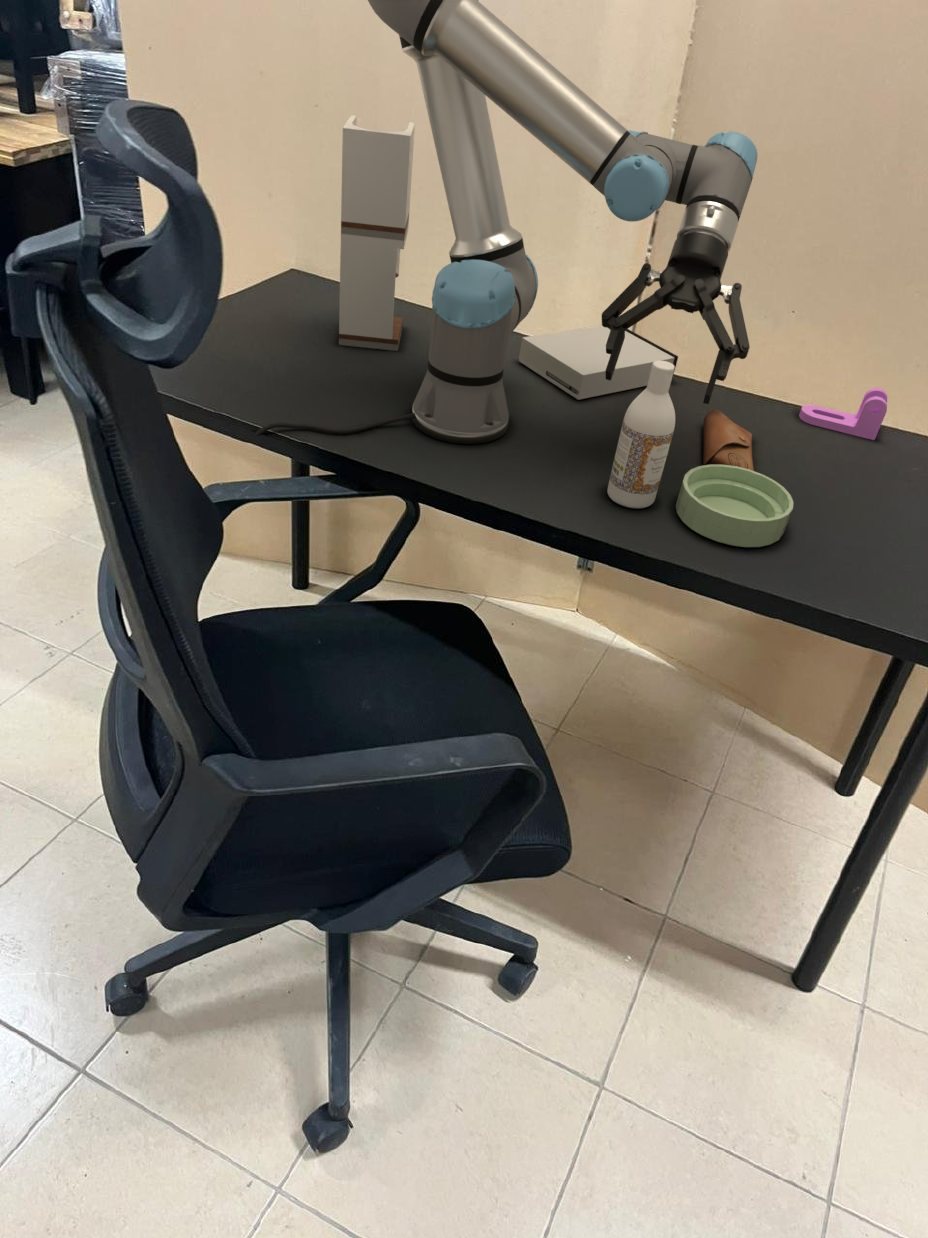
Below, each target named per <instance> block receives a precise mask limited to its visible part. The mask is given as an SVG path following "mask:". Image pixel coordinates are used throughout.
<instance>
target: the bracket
mask: <svg viewBox="0 0 928 1238" xmlns="http://www.w3.org/2000/svg"><path fill="white" fill-rule="evenodd" d="M887 411H888V394H887V392H886V390H884V389H883V388H881V387H872V388H869V389H868V390H867V391H866V392H865V394H864V396H863V398H862V400H861V403H860V405H859V408H858V410H857V413H855V414H854V413H849V412H844V411H841V410H837V409H833V408H828V407H825V406H820V405H816V404H805V405H802V406H801V408H800V411H799V415H798V417H799V419H800V420H801V421H802V422H805V423H807V424H809V425H812V426H816V427H820V428H822V429H823V428H824V429H828V430H831V431H835V432H839V433H843V434H847V435H851V436H855V437H859V438H863V439H868V440H871V441H875V440H876V438H877V435H878V433H879V430H880V428H881V426H882V424H883V421H884V419H885V417H886V414H887Z"/></svg>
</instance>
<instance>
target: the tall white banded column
mask: <svg viewBox="0 0 928 1238" xmlns="http://www.w3.org/2000/svg"><path fill="white" fill-rule="evenodd" d="M357 117H358V116H357V115H353V114H351V115H350V116H349V117H348V119H347V121H346V122H345V124H344V125H343V127H342V147H341V149H342V150H341V197H340V198H341V206H340V207H341V208H340V213H341V214H340V262H339V267H340V268H339V310H338V311H339V313H338V314H339V316H338V317H339V318H338V319H339V320H338V345H339V346H348V347H356V348H366V349H374V350H376V349H377V350H385V351H394V352H398V351H399V346H400V341H401V337H402V331H403V323H404V322H403V321H404V320H403V319H404V317H400V316H394V312H395V295H396V278H398V277H399V276H400V262H401V250H404V249H405V245H406V241H407V237H408V234H409V226H410V225H409V223H410V209H411V208H410V207H411V193H412V192H411V190H412V176H413V175H412V174H413V161H414V160H413V159H414V158H413V157H414V144H415V143H414V142H415V129H416V128H415V127H416V123H415V122H411V121H410V122H409V123H408V126H407V128H406V129H405V130H399V131H385V130H383V131H382V130H373V129H369V128H363V127H360V126H357Z"/></svg>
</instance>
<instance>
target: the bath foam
mask: <svg viewBox="0 0 928 1238" xmlns="http://www.w3.org/2000/svg"><path fill="white" fill-rule="evenodd" d="M674 369H675V370H676V367H674V365H673V364H672V363H670V362H667V361H655V362H653V364H652V368H651V372H650V376H649V380H648V384H647V386H646V388H645V389H644V390H642V391H641V392H640V393H639V395H637V396H636V397H635V398H634V399H633V400H632V402H631V403H630V404H629V406H628V408H627V409H626V411H625V414H624V417H623V420H622V423H621V429H620V433H619V436H618V441H617V446H616V449H615V454H614V458H613V463H612V467H611V471H610V476H609V481H608V485H607V489H606V490H607V491H606V493H607V495H608V497H609V498H610V500H611V501H613V502H614V503H616V504H617V505H620V506H622V507H626V508H629V509H644V508H647V507H650V506H652V505H653V504H654V503H655V501H656V497H657V494H658V491H659V487H660V483H661V479H662V476H663V473H664V468H665V465H666V461H667V457H668V454H669V450H670V446H671V443H672V439H673V435H674V432H675V427H676V411H675V407H674V403H673V400H672V398H671V396H670V393H669V391H670V389H671V385H672V384H671V383H672V382H671V380H672V381H673V379H672V377H673V378H674V375H673V373H674V374H675V371H674Z"/></svg>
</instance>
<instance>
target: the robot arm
mask: <svg viewBox="0 0 928 1238" xmlns="http://www.w3.org/2000/svg"><path fill="white" fill-rule="evenodd" d="M367 2H368V4H369V5H370V7H371V9H372V10H373V12H374V13H375V14H376V15H377V17H378V18H379V19H380V20H381V21H382V22H383V23H384V24H385V25H386V26H388V27H389V28H390V29H391V30H392V31H394V32H395V33H396V34H397V35H398V37H399V42H400V45H401V50H402V52H403V53H404V54H406V55H407V56H409V57H410V58H411V59H412V60H414V62H415V63H416V67H417V71H418V77H419V80H420V84H421V89H422V93H423V98H424V102H425V108H426V111H427V115H428V116H427V117H428V121H429V124H430V125H429V126H430V129H431V130H430V131H431V133H432V138H433V142H434V148H435V152H436V156H437V157H436V158H437V161H438V164H439V169H440V174H441V179H442V183H443V188H444V192H445V197H446V200H447V206H448V210H449V214H450V220H451V224H452V229H453V233H454V237H455V240H454V242H453V244H452V246H451V248H450V250H449V252H448V255H449V259H450V263H449V264H446V265H445V266H444V267H442V268H441V269H440V270H439V272H438V273H437V274H436V277H435V279H434V286H433V289H432V296H431V305H432V306H431V317H430V318H431V320H430V329H429V330H430V332H429V345H428V357H427V369H426V373H425V376H424V378H423V380H422V383H421V385H420V387H419V389H418V392H417V394H416V397H415V399H414V401H413V403H412V408H411V409H412V410H411V413H408V414H402V415H399V416H394V417H391V418H385V419H382V420H378V421H375V422H373V421H372V422H369V423H366V424H363V425H359V426H355V427H346V428H335V427H328V426H322V425H319V424H318V425H317V424H312V423H296V422H285V421H284V422H283V421H281V422H278V421H277V422H271V423H267V424H265V425H263V426H262V427H261V428H259V429H258V430H257V431H256V432H254V436H255V437H260V436H262V435H263V434H264V433H266V432H267V431H269V430H271V429H277V428H287V429H305V430H313V431H318V432H324V433H328V434H329V433H330V434H352V433H358V432H362V431H366V430H369V429H373V428H377V427H382V426H386V425H389V424H394V423H397V422H402V421H406V420H411V421H412V423H413V425H414V426H415V427H416V428H417V429H418V430H419V431H420V432H422V433H423V434H424V435H427V436H429V437H430V438H434V439H437V440H440V441H443V442H448V443H454V444H461V445H462V444H463V445H475V444H476V445H477V444H484V443H489V442H492V441H495V440H497V439H499V438H501V437H502V436H504V435H505V434H506V433H507V430H508V426H509V419H510V413H509V408H508V403H507V398H506V392H505V387H504V381H503V378H504V370H505V364H506V356H507V348H508V343H509V339H510V336H511V334H512V333H513V332H514V331H515V330H516V328H517V327H518V326H519V324H520V323H521V322H522V321H524V319H525V318H526V317H527V316H528V315H529V313H530V312H531V310H532V308H533V307H534V304H535V301H536V298H537V295H538V290H539V277H538V272H537V269H536V267H535V266H536V265H535V264H534V262H533V261H532V259H531V258H530V256H529V255H527V254H526V249H525V243H524V239H523V238H524V237H523V235H522V233H521V232H519V230H517V229H515V228H514V227H513V226H512V225H511V223H510V217H509V212H508V207H507V201H506V198H505V191H504V187H503V181H502V175H501V171H500V170H501V169H500V166H499V161H498V155H497V151H496V144H495V139H494V135H493V128H492V124H491V118H490V113H489V108H488V103H487V98H488V99H490V101H492V102H493V103H494V104H495V105H496V106H497V107H499V108H500V109H501V110H502V111H503V112H505V113H506V114H507V115H508V116H509V117H510V118H512V119H513V120H514V121H515V122H517V124H519V125H520V126H521V127H522V128H524V129H525V130H526V131H527V132H528V133H530V135H532V136H533V137H534V138H535V139H537V140H538V141H539V142H541V144H542V145H544V146H545V147H546V148H547V149H548V150H549V151H551V152H552V153H553V154H555V155H556V156H557V157H558V158H559V159H560V160H562V161H563V163H565V164H566V165H567V166H569V167H570V168H571V169H572V170H573V171H575V172H576V173H577V174H578V175H579V176H581V178H583V179H584V180H585V181H587V182H588V184H590V185H591V186H592V187H594V189H595V190H596V191H598V192H599V193H600V194H602V196H604V199H605V202H606V205H607V207H608V209H609V211H610V212H611V213H612V214H613V215H614V216H616V218H618V219H620V220H622V221H625V222H631V223H632V222H640V221H643V220H646V219H647V218H649V217H650V216H652V215H653V214H654V213H655V212H656V211H658V210H660V208H661V207H662V206H663V204H664V203H665V201H667V202H671V203H675V204H678V205H684V206H685V208H684V213H683V214H682V219H681V221H680V224H679V227H678V231H677V233H676V238H675V240H674V242H673V246H672V249H671V253H670V254H669V258H668V262H667V264H666V266H665V268H664V270H663V271H660V270H657V269H654V268H652V265H651V264H650V263H647V262H646V263H643V264H642V266H641V269H640V271H639V273H638V275H637V276H636V278H635V279H634V280H633V281H632V282H631V283H630V284H629V285H628V286H627V287H626V288H625V289H624V290H623V291H622V292H621V293H620V294H619V295H618V296H617V297H616V298H615V299H614V300H613V301H612V302H611V303H610V304H609V306H607V307H606V309H604V310H603V311H602V313H601V325H602V326H603V327H607V328H609V329H610V330H611V331H610V334H609V337H608V340H607V343H606V353H607V354H611V355H610V359H609V362H608V365H607V368H606V371H605V373H606V380H610V381H611V379H612V376H613V373H614V370H615V367H616V363H617V360H618V357H619V354H620V351H621V348H622V345H623V342H624V339H625V330H626V329H629V328H631V327H633V326H634V325H636V324H637V323H639V322H640V321H642V320H644V319H645V318H647V317H648V316H650V315H652V314H654V312H656V311H660V310H662V309H664V308H665V307H666V306H669V307H670V309H671V310H675V311H679V310H680V311H681V310H682V311H684V312H686V313H689V314H694V313H696V312H699V315H700V316H701V318H702V320H703V321H704V322H705V324H706V326H707V328H708V330H709V332H710V333H711V336H712V337H713V340H714V342H715V343H716V346H717V349H719V350H718V352H717V355H716V358H715V361H714V365H713V368H712V371H711V374H710V378H709V381H708V383H707V387H706V391H705V393H704V397H703V401H702V403H703V404H706V405H710V401H711V398H712V394H713V391H714V388H715V385H716V382H717V381H721V382H725V380H726V379H727V376H728V373H729V370H730V366H731V362H732V361H733V360H735V359H740V360H744V359H745V360H746V358H747V357H748V354H749V351H750V340H749V337H748V332H747V327H746V321H745V318H744V313H743V308H742V303H741V293H742V290H743V289H742V288H743V285H742V283H740V282H735V283H733V285H726V284H725V285H724V284H722V282H721V279H722V276H723V273H724V270H725V266H726V263H727V260H728V258H729V252H730V250H731V248H732V246H733V245H732V244H733V242H734V238H735V236H736V232H737V229H738V226H739V222H740V219H741V216H742V212H743V209H744V206H745V204H746V200H747V197H748V194H749V191H750V188H751V185H752V181H753V179H754V174H755V170H756V166H757V162H758V156H759V155H758V149H757V146H756V145H755V143H754V142H753V141H752V139H751V138H749V137H748V136H747V135H745V134H743V133H740V132H738V131H731V130H730V131H727V132H723V131H721V132H718V133H715V134H714V135H712V136H711V137H710V138H708V140H707V142H706V144H705V145H701V144H700V145H697V144H692V143H691V144H690V143H687V142H683V141H679V140H674V139H671V138H666V137H662V136H659V135H655V134H652V133H649V132H647V131H636V130H630V129H627V128H625V126H623V125H622V124H621V122H619V121H618V120H616V119H615V118H614V117H613V116H612V115H611V114H610V113H608V112H607V110H605V109H604V108H603V107H601V106H600V105H599V104H598V103H597V102H596V101H595V100H594V99H592V98H591V97H590V96H589V95H588V94H587V93H586V92H584V91H583V90H582V89H581V88H579V86H577V85H576V84H575V83H574V82H572V80H571V79H569V78H568V77H567V76H565V75H564V74H563V73H562V72H561V71H560V70H559V69H558V68H556V67H555V65H553V64H552V63H551V62H549V61H548V60H547V59H546V58H545V57H543V56H542V54H540V53H539V52H538V51H537V50H536V49H534V47H532V46H531V45H530V44H529V43H528V42H526V41H525V39H523V38H521V36H520V35H518V34H517V33H516V32H515V31H513V30H512V28H510V27H509V26H508V25H506V24H505V23H504V22H503V21H502V20H500V19H499V17H497V16H496V15H495V14H494V13H492V12H491V11H490V10H489V9H488V8H487V7H485V5H483V4H482V3H481V2H480V1H479V0H367ZM486 97H487V98H486ZM656 282H658V284H659V288H658V289H656V290H655V291H654V293H653V294H651V295H649V296H648V297H647V298H645V299H643V300H642V301H640V302H639V303H637V304H636V305H634V306H633V307H631V308H630V309H628V308H629V307H630V306H631V304H633V303H634V302H635V301H636V300H637V298H639V296H640V295H642V294H643V292H644V291H645V290H646V287H651V286H652V285H653V284H654V283H656ZM719 296H721V297H722V298H723V302H724V303H725V304H726V305H728V315H729V319H730V320H729V321H730V323H731V324H730V325H731V329H732V333H733V339H734V343H733V340H732V338H731V337H730V335H729V332H728V331H727V328H726V327H725V325H724V322H723V321H722V318H721V317H720V315H719V313H718V311H717V309H716V307H715V303H714V301H715V300H716V299H717V298H718V297H719Z"/></svg>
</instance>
